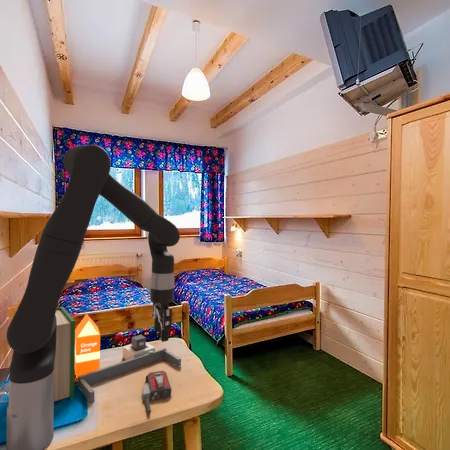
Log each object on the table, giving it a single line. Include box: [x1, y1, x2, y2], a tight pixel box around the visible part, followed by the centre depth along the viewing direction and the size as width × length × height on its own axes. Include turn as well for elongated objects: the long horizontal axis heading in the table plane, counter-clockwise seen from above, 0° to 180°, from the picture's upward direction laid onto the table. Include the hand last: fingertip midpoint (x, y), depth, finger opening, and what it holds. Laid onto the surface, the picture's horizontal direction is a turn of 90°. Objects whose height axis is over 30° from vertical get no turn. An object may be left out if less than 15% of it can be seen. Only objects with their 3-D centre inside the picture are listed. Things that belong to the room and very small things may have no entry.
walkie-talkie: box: [141, 370, 172, 415], centre depth 94 cm, size 9×4×20 cm
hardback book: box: [54, 306, 76, 402], centre depth 95 cm, size 18×7×24 cm, turn 39°
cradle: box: [77, 347, 182, 404], centre depth 105 cm, size 33×11×4 cm, turn 134°
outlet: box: [122, 341, 156, 361], centre depth 118 cm, size 9×9×4 cm
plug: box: [131, 334, 147, 351], centre depth 118 cm, size 4×4×8 cm
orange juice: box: [74, 313, 101, 379], centre depth 106 cm, size 8×9×20 cm
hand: (160, 336), depth 96 cm, fingers open, 8 cm apart
